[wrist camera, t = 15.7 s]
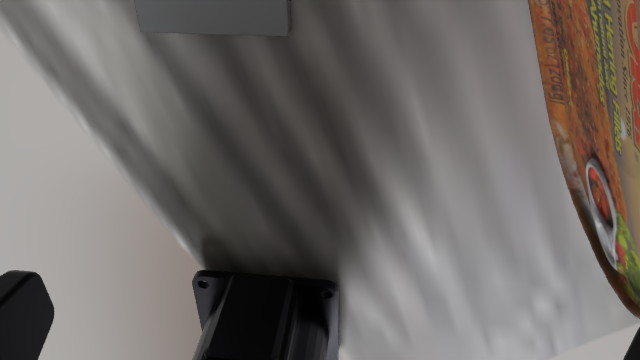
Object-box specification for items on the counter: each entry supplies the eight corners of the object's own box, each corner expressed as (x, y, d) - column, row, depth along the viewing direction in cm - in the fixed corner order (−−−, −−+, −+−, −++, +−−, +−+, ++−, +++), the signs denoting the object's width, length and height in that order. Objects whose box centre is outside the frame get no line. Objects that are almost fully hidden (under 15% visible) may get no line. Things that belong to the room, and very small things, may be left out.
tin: (477, -286, 13) (558, -368, 6) (620, -354, 12) (891, -533, 5) (560, 195, 21) (637, 392, 14) (652, 176, 20) (782, 377, 13)
